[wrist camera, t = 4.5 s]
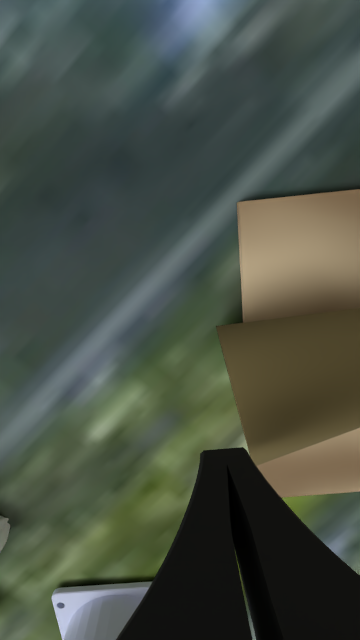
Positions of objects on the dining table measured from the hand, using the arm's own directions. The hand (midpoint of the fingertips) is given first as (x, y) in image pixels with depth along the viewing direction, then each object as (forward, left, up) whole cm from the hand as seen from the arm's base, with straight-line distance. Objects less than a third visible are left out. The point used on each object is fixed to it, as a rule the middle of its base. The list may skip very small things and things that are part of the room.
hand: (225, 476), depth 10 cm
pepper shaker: (0, -1, -4) cm, 4 cm away
